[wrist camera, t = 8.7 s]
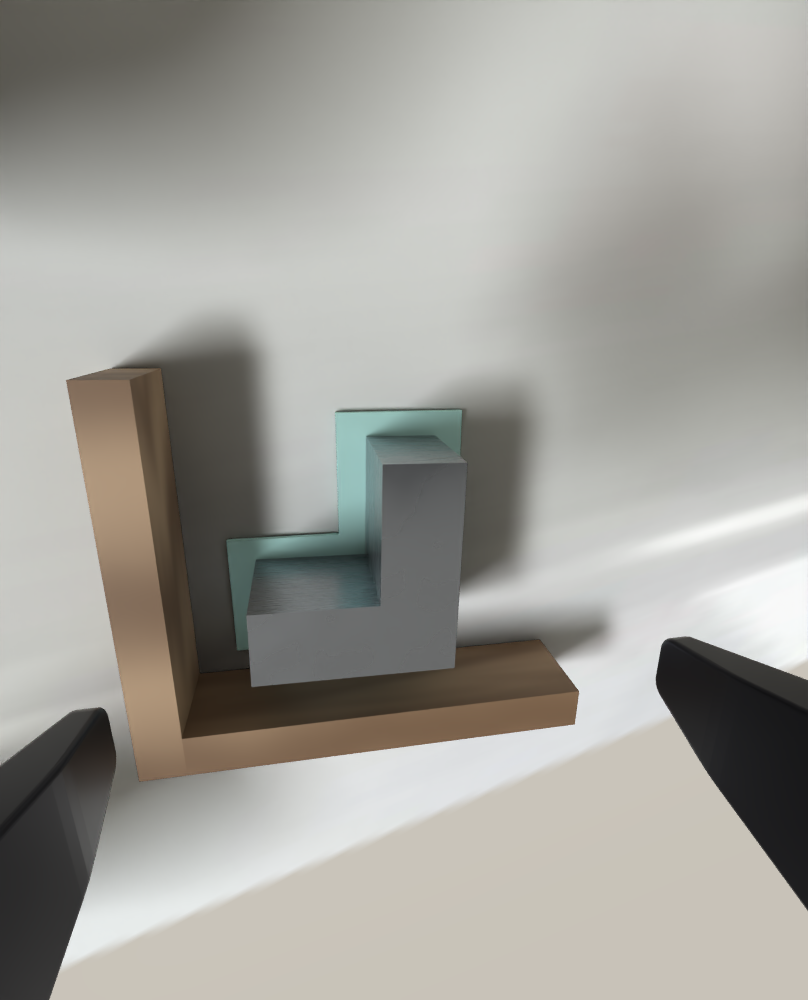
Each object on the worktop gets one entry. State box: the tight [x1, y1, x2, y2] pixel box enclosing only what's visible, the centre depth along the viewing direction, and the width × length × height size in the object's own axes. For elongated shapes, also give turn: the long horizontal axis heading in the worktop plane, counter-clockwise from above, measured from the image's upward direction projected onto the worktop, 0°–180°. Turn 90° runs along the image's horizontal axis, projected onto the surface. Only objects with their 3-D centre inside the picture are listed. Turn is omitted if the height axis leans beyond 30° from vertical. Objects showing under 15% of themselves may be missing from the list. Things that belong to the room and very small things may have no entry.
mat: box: [226, 410, 462, 650], centre depth 20 cm, size 9×8×1 cm
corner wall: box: [66, 368, 579, 782], centre depth 19 cm, size 13×16×4 cm
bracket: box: [246, 435, 468, 687], centre depth 18 cm, size 7×6×4 cm
